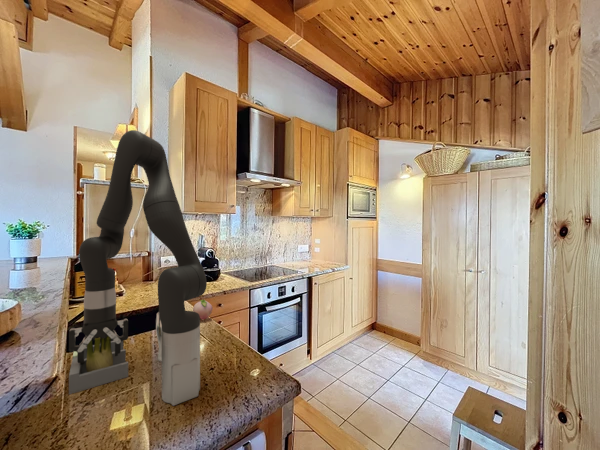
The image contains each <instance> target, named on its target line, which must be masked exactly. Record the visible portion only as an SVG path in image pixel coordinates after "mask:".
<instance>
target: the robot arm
mask: <svg viewBox="0 0 600 450" xmlns="http://www.w3.org/2000/svg"><path fill="white" fill-rule="evenodd" d="M135 166H138V167H141V168H142V169H143V170H144V173H145V175H146V179H147V181H148V188H147V190H146V193H145V196H144V198H143V202H142V209H143V213H144V216H145V220H146V223H147V226H148V228H149V230H150V231H151V232H152V234H153V235H154V237H156V238H157V239H158V240H159V241H160V242H161V243H162V244H163V245H164V246H166V248H167V249H169V251H170V252H171V253H172V255H173V257H174V259H175V261H176V264H177V266H175V267H169V268H166V269H163V270H162V271H161V273H160V274H159V277H158V279H157V280H158V281H157V300H158V312H159V317H160V321H161V324H162V361H161V399H162V401H163V402H164V403H167V404H171V406H177V405H178V404H181V403H184V402H186V401H189V400H191V399H194V398H197V397H199V391H200V390H201V319H200V316H199V314H198V313H196V312H193V310H186V308H185V302H187V301H189V300H190V301H191V300H192V299H197V298H200V297H201V296H203V295H204V293H205V292H206V289H207V287H208V286H207V277H206V273H205V272H206V271H205V270H204V267H203V265H202V263H201V260H200V259H199V256H198V254H197V252H196V250H195V247H194V245H193V243H192V241H191V237H190V235H189V232H188V229H187V226H186V223H185V219H184V216H183V212H182V209H181V206H180V203H179V200H178V198H177V196H176V191H175V188H174V185H173V182H172V179H171V175H170V170H169V165H168V159H167V155H166V152H165V149H164V147H163V145H162V144H161V143H160V142H159V141H157V140H155V139H154V138H152V137H150V136H148V135H146V134H145V133H143V132H140V131H139V130H134V129H133V130H128V131H126V132H125V133H123V135H122V136H121V138H120V139H119V141H118V144H117V147H116V152H115V157H114V161H113V165H112V171H111V176H110V181H109V186H108V190H107V194H106V196H105V198H104V202H103V204H102V206H101V209H100V211H99V214H98V216H97V219H96V226H98V227H99V228H100V229H101V230H100V234H99V236H93V237H92V236H91V237H88V238H86V239H84V240H83V241H81V244H80V247H79V249H78V257H79V261H80V265H81V267H82V271H83V273H84V276H85V283H84V284H85V285H84V296H83V325H82V327H77V328H75V327H71V328H70V329H69V330H68V352H69V353H72V352H73V353H74V351H76V352H77V353H78V358H77V362H78V363H81V365H82V364H84V348H85V347H87V345H88V343H89V342H90V341H91V339H92V341H95V338H99V337H100V339H101V338H105V339H106V338H107V337H108V336H109V337H110V338H111V340H112V341H115V356H118V354H119V353H120V352H121V342H122V341H123V342H124V341H127V340H128V338H129V320H128V318H123V319H121V320H117V292H116V291H117V290H116V272H115V270H114V268H111V267H109V266H108V260H110V259H113V258H115V257H116V256H117V255H118V254H119V252H120V251H121V249H122V246H123V242H124V241H123V240H124V235H125V227H126V225H127V222H128V220H129V219H130V218H129V217H130V215H131V213H132V210H133V206H134V199H133V192H132V182H131V181H132V174H133V171H134V168H135ZM118 326H119V327H120V328H122V335H120V336H119V335H118V334H117V332H116V330H115V329H116V328H117V327H118ZM80 333H83V335H85V336H84V337H83V339H82V341H81V342H80V343H79V345H78V344H76V337H78V336H79V334H80Z"/></svg>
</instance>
